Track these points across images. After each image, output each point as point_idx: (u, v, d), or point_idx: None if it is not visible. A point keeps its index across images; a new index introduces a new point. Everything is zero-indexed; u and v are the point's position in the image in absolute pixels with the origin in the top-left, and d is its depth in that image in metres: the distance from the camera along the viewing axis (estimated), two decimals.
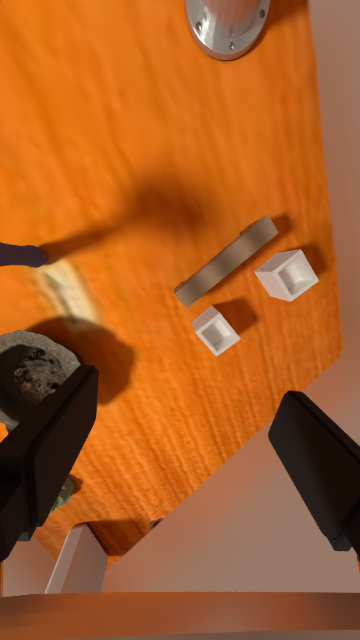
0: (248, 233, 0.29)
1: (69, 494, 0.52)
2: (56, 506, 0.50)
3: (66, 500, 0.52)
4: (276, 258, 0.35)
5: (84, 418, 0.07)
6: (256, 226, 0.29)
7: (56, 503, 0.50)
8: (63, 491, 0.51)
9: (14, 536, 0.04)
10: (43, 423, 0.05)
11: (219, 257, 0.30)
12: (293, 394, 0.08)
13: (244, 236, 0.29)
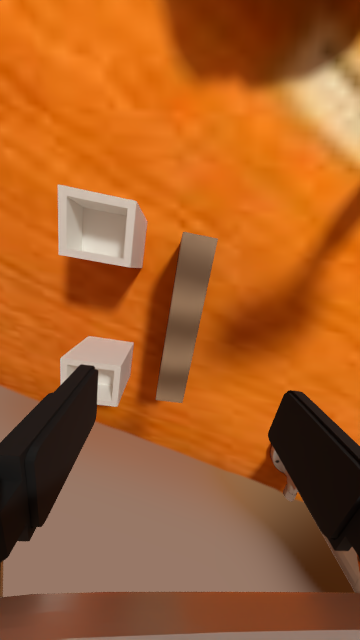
0: (185, 376, 0.21)
1: None
2: None
3: None
4: (127, 373, 0.26)
5: (84, 418, 0.07)
6: (183, 387, 0.22)
7: None
8: None
9: (14, 536, 0.04)
10: (43, 423, 0.05)
11: (195, 331, 0.20)
12: (293, 394, 0.08)
13: (187, 370, 0.21)
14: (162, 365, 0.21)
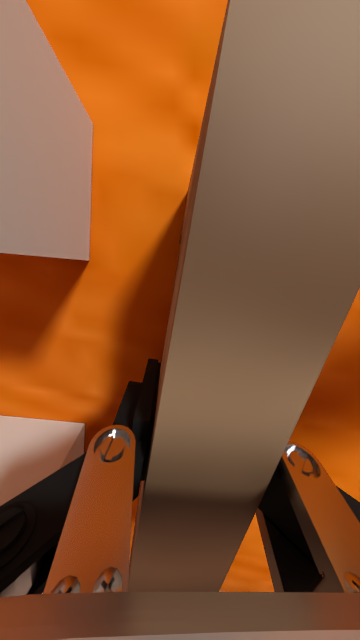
0: None
1: None
2: None
3: None
4: None
5: None
6: None
7: None
8: None
9: None
10: (150, 400, 0.06)
11: (253, 499, 0.05)
12: None
13: (213, 589, 0.07)
14: (132, 585, 0.06)
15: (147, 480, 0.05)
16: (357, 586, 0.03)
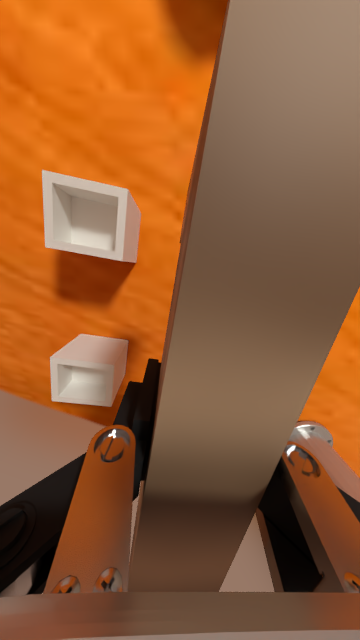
0: None
1: None
2: None
3: None
4: (122, 372, 0.25)
5: None
6: None
7: None
8: None
9: None
10: (150, 400, 0.06)
11: (253, 498, 0.05)
12: None
13: (213, 588, 0.07)
14: (132, 584, 0.06)
15: (147, 479, 0.05)
16: (357, 586, 0.03)
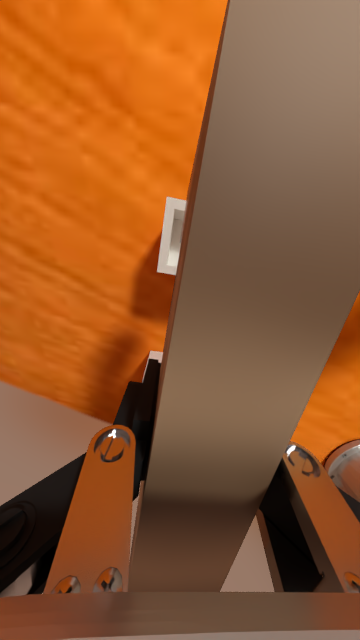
0: None
1: None
2: None
3: None
4: None
5: None
6: None
7: None
8: None
9: None
10: (150, 400, 0.06)
11: (254, 500, 0.05)
12: None
13: (214, 590, 0.07)
14: (132, 586, 0.06)
15: (147, 480, 0.05)
16: (357, 586, 0.03)
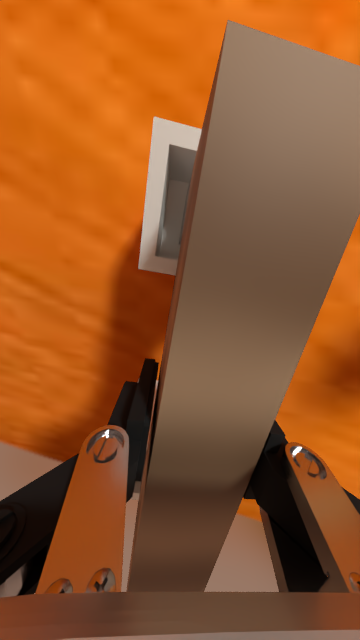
0: (206, 569, 0.07)
1: None
2: None
3: None
4: None
5: None
6: (199, 588, 0.08)
7: None
8: None
9: (134, 482, 0.06)
10: (145, 400, 0.06)
11: (246, 472, 0.06)
12: None
13: (211, 559, 0.07)
14: (137, 555, 0.07)
15: (152, 454, 0.05)
16: None
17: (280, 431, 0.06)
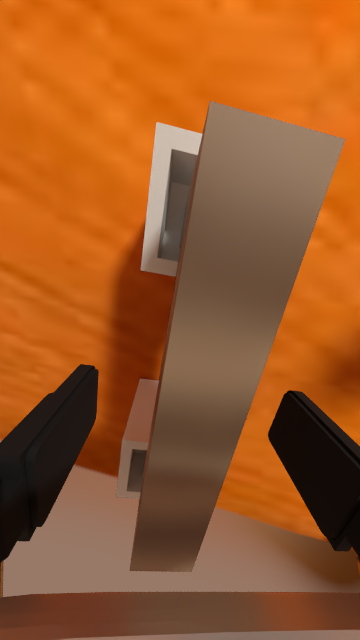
0: (201, 528, 0.09)
1: None
2: None
3: None
4: None
5: (84, 418, 0.07)
6: (195, 547, 0.09)
7: None
8: None
9: (14, 536, 0.04)
10: (43, 423, 0.05)
11: (233, 438, 0.07)
12: (293, 394, 0.08)
13: (205, 518, 0.08)
14: (142, 512, 0.08)
15: (156, 420, 0.07)
16: None
17: None
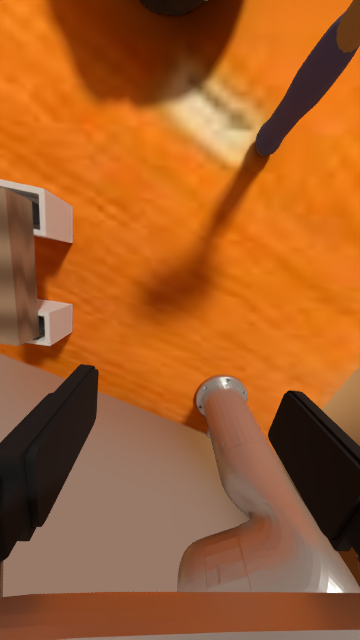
0: (14, 319, 0.24)
1: None
2: None
3: None
4: (65, 326, 0.34)
5: (84, 418, 0.07)
6: (15, 330, 0.25)
7: None
8: None
9: (14, 536, 0.04)
10: (43, 423, 0.05)
11: (11, 276, 0.23)
12: (293, 394, 0.08)
13: (14, 314, 0.24)
14: None
15: None
16: None
17: None
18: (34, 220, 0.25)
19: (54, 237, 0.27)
